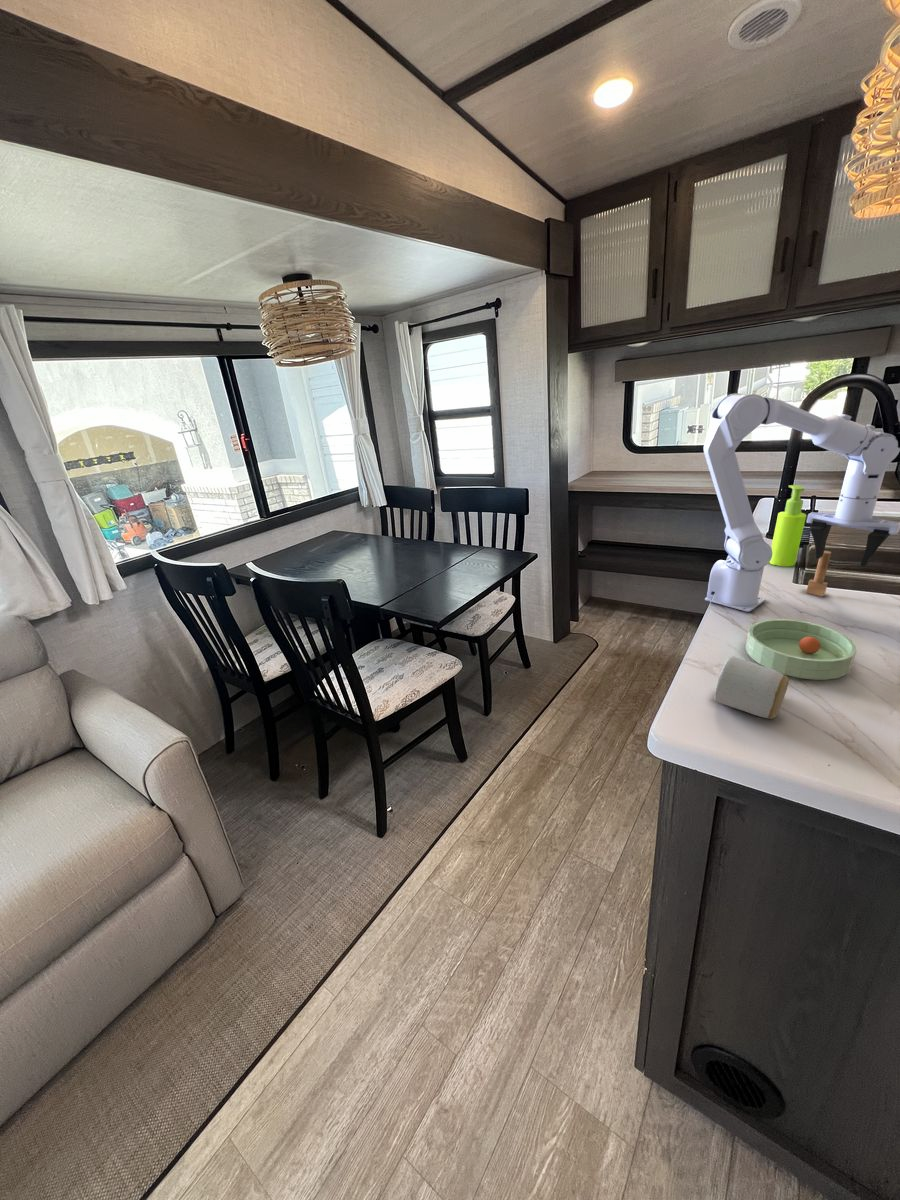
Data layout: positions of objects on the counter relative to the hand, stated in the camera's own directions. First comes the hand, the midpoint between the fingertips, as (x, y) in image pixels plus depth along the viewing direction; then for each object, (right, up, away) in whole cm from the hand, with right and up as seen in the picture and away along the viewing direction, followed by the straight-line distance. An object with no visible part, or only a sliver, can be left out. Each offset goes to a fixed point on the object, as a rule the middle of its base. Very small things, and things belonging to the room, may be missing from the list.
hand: (840, 561), depth 97 cm
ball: (-18, -16, -14) cm, 28 cm away
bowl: (-20, -19, -14) cm, 31 cm away
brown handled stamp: (+1, -7, +8) cm, 11 cm away
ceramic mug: (-35, -25, -24) cm, 49 cm away
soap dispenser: (+7, +2, +27) cm, 28 cm away
